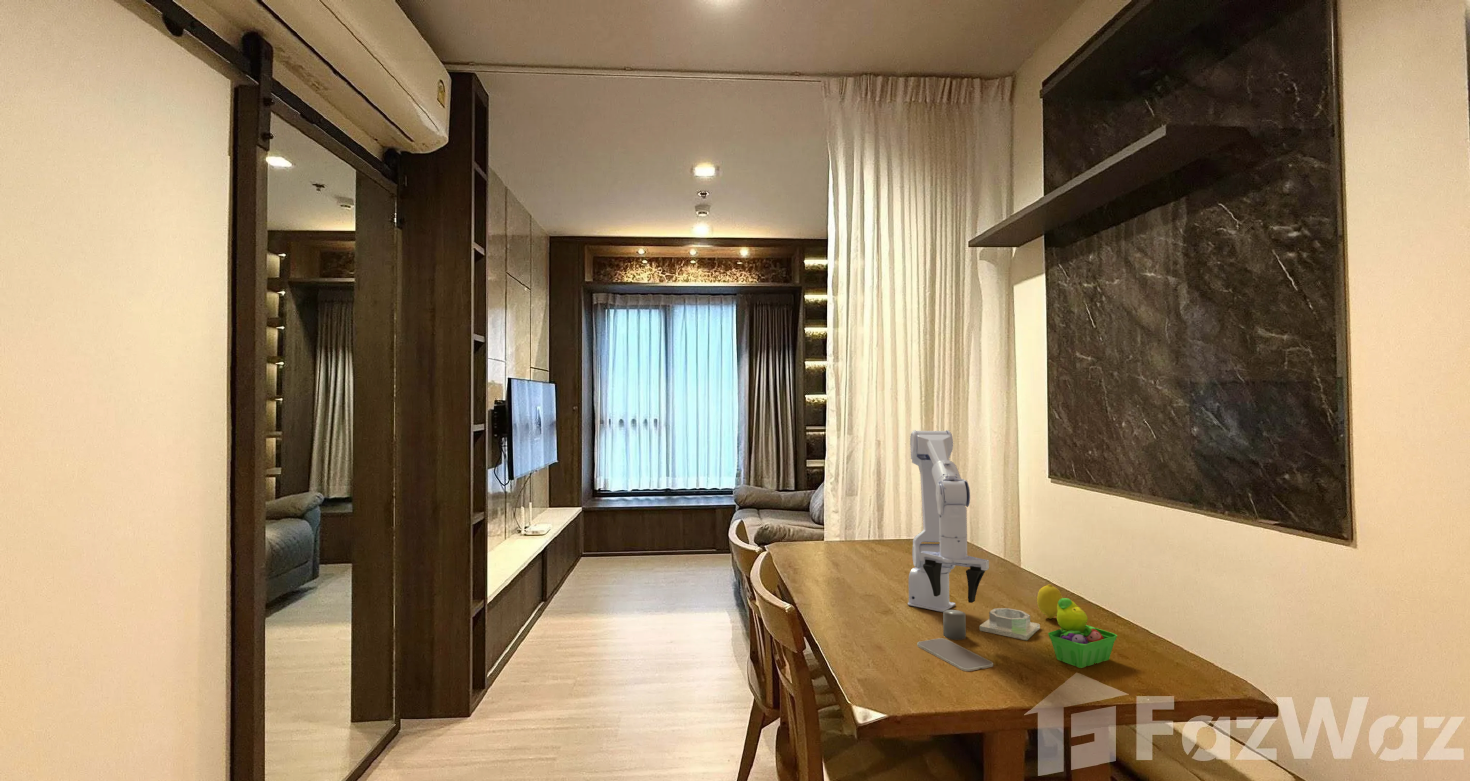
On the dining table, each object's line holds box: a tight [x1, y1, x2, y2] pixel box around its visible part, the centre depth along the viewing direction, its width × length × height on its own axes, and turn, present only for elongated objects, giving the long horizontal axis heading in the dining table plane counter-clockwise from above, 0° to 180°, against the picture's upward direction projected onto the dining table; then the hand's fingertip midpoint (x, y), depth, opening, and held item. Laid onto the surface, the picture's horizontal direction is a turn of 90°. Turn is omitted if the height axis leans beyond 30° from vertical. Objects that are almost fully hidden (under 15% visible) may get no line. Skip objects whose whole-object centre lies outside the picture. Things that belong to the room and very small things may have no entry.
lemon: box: [1036, 583, 1063, 619], centre depth 152 cm, size 6×6×8 cm
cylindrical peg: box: [942, 609, 967, 641], centre depth 140 cm, size 5×5×5 cm
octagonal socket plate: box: [979, 607, 1041, 641], centre depth 144 cm, size 10×10×4 cm
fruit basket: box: [1047, 597, 1118, 669], centre depth 127 cm, size 11×9×11 cm
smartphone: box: [916, 637, 994, 672], centre depth 129 cm, size 7×1×15 cm
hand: (954, 598), depth 140 cm, fingers open, 7 cm apart
